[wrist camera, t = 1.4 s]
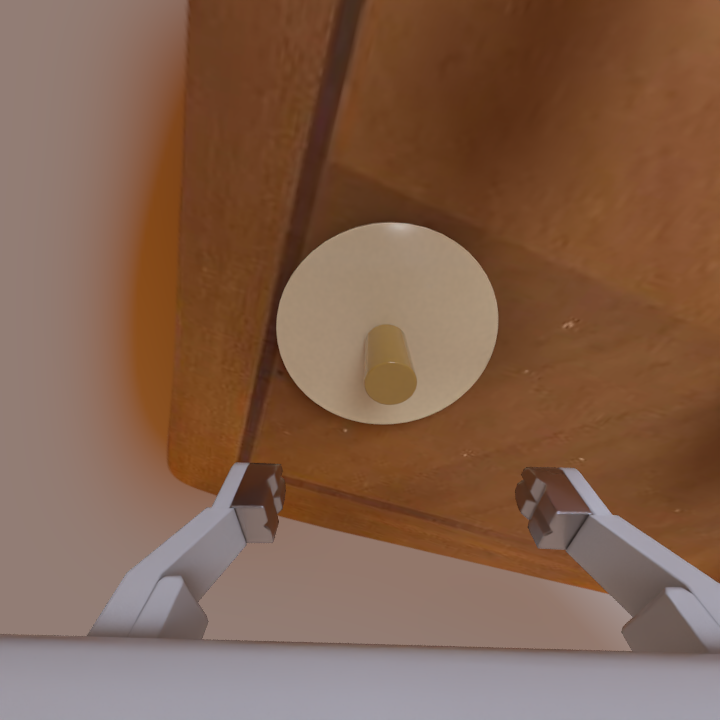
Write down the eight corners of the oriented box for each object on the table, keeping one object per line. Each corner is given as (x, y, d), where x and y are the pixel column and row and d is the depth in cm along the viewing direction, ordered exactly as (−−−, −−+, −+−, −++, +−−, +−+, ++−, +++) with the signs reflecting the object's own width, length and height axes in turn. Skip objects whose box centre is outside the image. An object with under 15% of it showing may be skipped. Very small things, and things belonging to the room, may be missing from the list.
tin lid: (264, 220, 16) (218, 234, 11) (516, 220, 16) (585, 234, 11) (294, 413, 23) (273, 474, 18) (469, 414, 22) (498, 478, 18)
